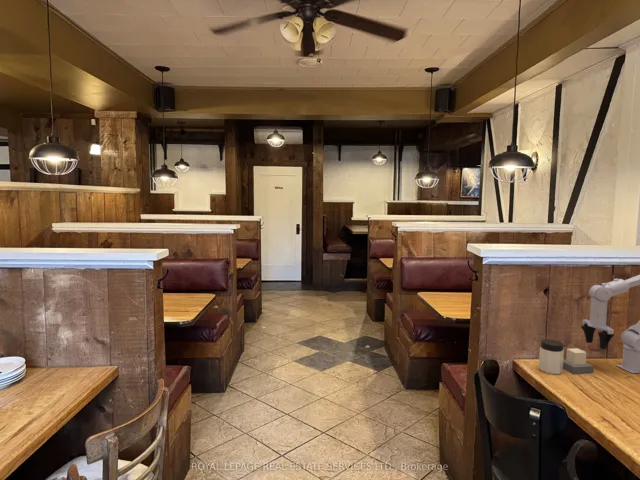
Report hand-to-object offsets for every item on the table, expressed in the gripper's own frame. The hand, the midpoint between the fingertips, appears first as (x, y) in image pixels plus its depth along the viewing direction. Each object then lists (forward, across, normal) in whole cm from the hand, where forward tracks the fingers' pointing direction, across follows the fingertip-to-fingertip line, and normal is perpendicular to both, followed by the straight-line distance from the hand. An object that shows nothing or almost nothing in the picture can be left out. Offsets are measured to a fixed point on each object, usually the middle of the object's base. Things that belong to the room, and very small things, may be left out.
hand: (596, 345), depth 176 cm
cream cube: (+6, +1, -10) cm, 12 cm away
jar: (+10, +1, -21) cm, 23 cm away
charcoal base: (+10, +1, -10) cm, 14 cm away
